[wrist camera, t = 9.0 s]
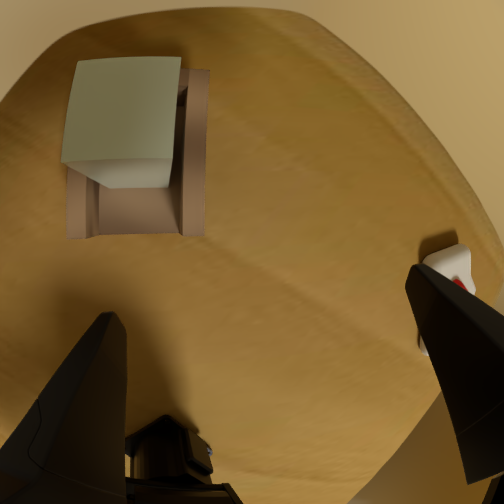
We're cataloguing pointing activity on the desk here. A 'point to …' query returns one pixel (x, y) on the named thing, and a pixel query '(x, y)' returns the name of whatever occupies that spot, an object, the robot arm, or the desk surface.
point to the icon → (452, 269)
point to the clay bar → (123, 120)
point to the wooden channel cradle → (152, 199)
